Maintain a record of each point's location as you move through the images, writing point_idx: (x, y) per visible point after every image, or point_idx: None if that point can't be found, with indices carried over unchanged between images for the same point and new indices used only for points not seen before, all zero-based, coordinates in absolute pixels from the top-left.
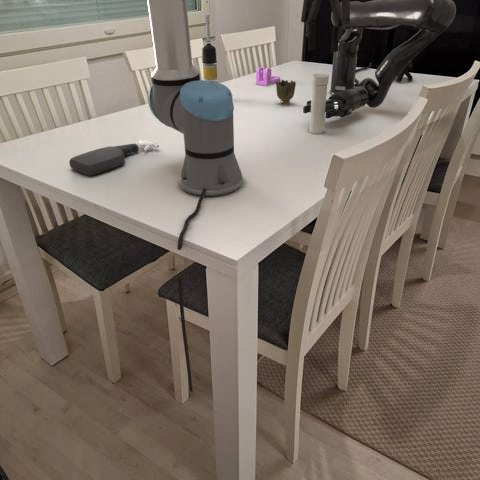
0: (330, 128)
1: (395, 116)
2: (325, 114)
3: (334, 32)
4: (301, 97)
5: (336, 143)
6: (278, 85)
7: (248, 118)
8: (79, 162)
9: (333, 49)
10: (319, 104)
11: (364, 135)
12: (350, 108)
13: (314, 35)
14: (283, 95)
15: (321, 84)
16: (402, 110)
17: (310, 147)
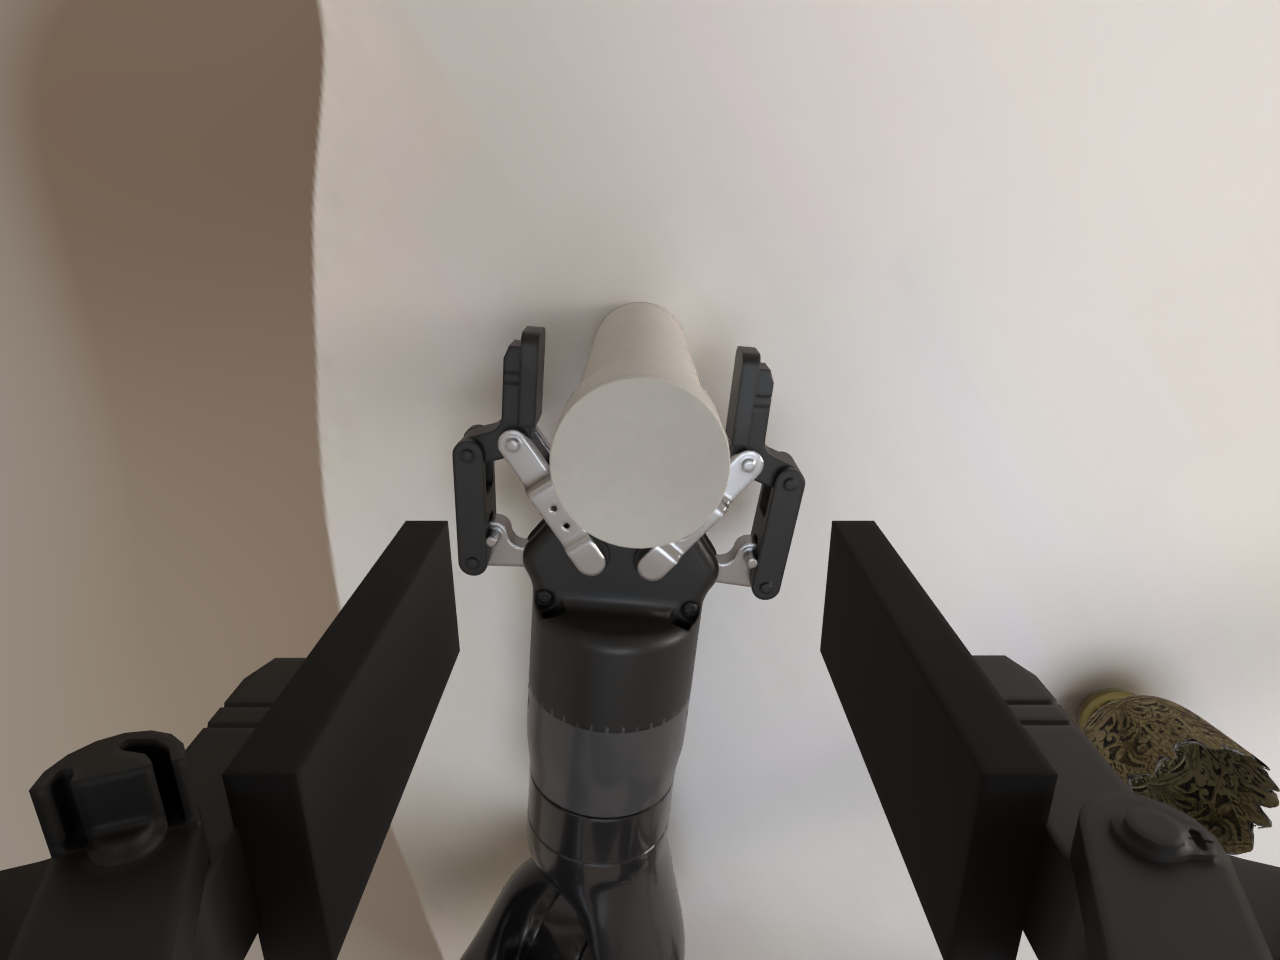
0: None
1: (422, 840)
2: (542, 331)
3: (282, 701)
4: None
5: (408, 222)
6: (1227, 743)
7: (1198, 308)
8: None
9: (393, 549)
10: (602, 348)
11: (365, 462)
12: (459, 538)
13: (882, 757)
14: (1136, 707)
15: (584, 381)
16: (450, 941)
17: (494, 33)
